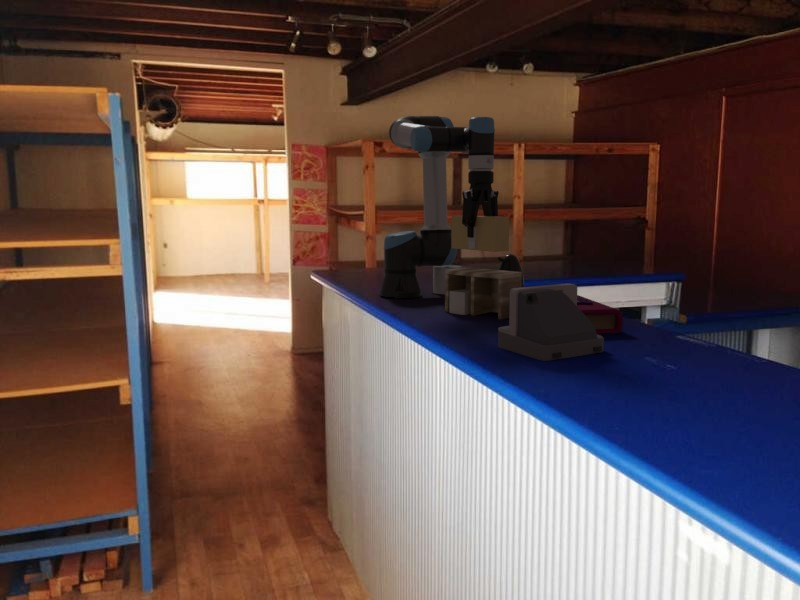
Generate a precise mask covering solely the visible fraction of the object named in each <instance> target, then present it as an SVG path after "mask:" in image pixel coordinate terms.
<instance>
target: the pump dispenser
mask: <svg viewBox="0 0 800 600" xmlns="http://www.w3.org/2000/svg"><path fill="white" fill-rule="evenodd" d="M497 260H498V261H499V262H500V263H499V267H498V269H497V270H503V271H515V272H522V279H521V287H525V279H524V272H523V268H522V265H521V263H520V260H519V258H518V257H517V255H515V254H512V253H509V254H507V255H504V257H500V256H499V257H498V256H497Z"/></svg>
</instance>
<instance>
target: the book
mask: <svg viewBox="0 0 800 600" xmlns="http://www.w3.org/2000/svg"><path fill="white" fill-rule="evenodd" d="M577 307H578V308H579V309H580V310H581V311H582V312H583V314H584V315H585V316H586V317H587V318H588V319H589V320H590V321H591V322H592V324H593V325H594V327H595V330H596V334H597V335H601V334H600V333H619V334H620V333H621V332H622V330H623V323H624V315H623V313H622V312H621V310H620V309H617V308H614V307H612V306H609V305H606V304H602V303H601V302H598V301H595V300H592V299H589V298H587V297H584V296H582V295H579V294H577Z"/></svg>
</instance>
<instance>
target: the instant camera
mask: <svg viewBox="0 0 800 600" xmlns="http://www.w3.org/2000/svg"><path fill="white" fill-rule="evenodd" d="M577 295H578V286H577V284H574V283H570V282H569V283H558V284H557V283H556V284H548V285H547V284H546V285H545V284H544V285H536V286H534V285H533V286H524V287H521V288H512V289H511V290H510V312H509V318H508V319H509V320H508V321H509V322H508V323H509V324H508V325H504V326H500V327H498V328H497V332H498V333H497V347H498V348H500V349H503V350H506V351H508V352H509V351H510V352H513V353H515V354H519V355H523V356H525V357H528V358H532V359H536V360H538V361H539V360H540V361H543V362H544V361H545V362H547V361H554V360H562V359H567V358H575V357H579V356H581V357H582V356H586V355H594V354H599V353H603V352H604V348H605V347H604V346H605V337H603V336H602V334H596V330H595V327H594V325H593V324H592V322H591V321H590V320H589V319H588V318H587V317H586V316H585V315H584V314H583V312H582V311H581V310H580V309H579V308H578V307H577Z"/></svg>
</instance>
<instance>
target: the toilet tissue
mask: <svg viewBox="0 0 800 600" xmlns="http://www.w3.org/2000/svg"><path fill="white" fill-rule="evenodd" d="M464 267H467V268H470V267H469V266H466V265H465V266H464V265H454V264H453V265H452V264H450V265H444V266H432V271H433V272H432V274H433V275H432V277H433V278H432V293H433V294H435V295H445V270H449V269H457V268H464Z"/></svg>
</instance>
